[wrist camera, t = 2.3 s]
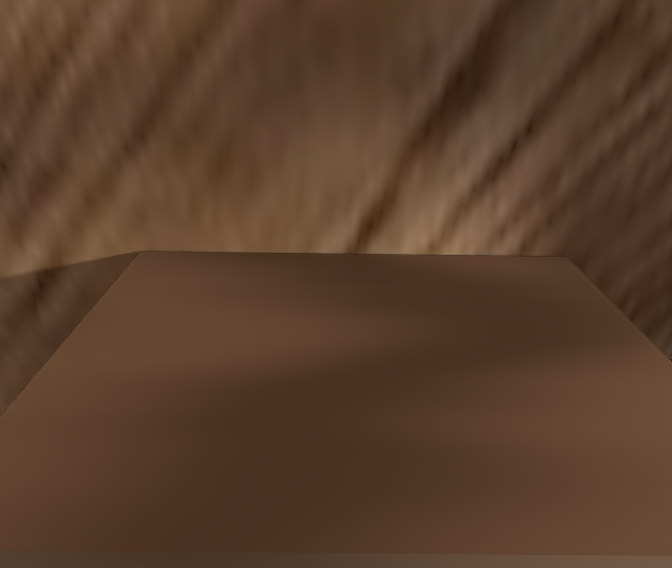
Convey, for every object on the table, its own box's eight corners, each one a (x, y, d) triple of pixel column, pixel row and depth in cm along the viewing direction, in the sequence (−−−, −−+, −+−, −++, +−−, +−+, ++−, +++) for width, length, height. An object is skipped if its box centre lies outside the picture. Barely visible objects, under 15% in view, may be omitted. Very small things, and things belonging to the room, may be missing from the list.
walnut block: (567, 257, 8) (867, 558, 4) (508, 559, 11) (638, 965, 6) (140, 251, 8) (-115, 550, 3) (181, 556, 11) (65, 963, 6)
